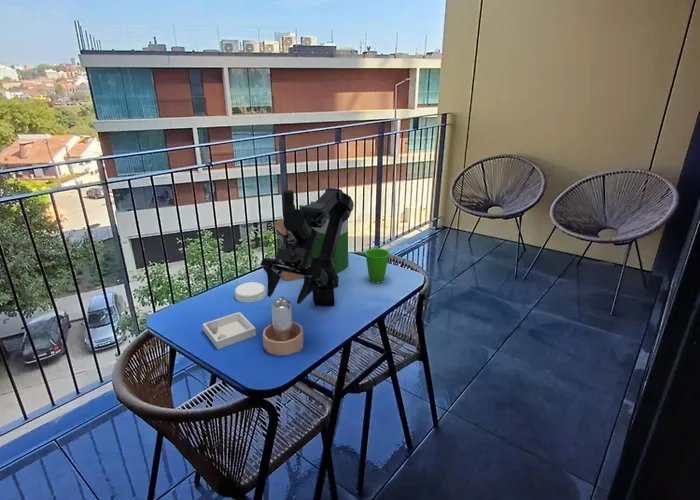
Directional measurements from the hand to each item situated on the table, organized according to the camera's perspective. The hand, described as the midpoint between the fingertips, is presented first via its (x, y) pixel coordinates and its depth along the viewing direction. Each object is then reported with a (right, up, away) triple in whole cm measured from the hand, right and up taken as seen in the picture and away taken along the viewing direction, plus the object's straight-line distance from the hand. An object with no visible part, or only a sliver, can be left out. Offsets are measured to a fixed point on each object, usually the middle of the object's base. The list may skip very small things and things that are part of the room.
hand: (283, 300), depth 109 cm
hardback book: (+8, +7, +55) cm, 56 cm away
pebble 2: (-17, -12, +4) cm, 22 cm away
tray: (-17, -11, +9) cm, 22 cm away
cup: (+27, +2, +42) cm, 50 cm away
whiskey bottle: (-4, +4, +48) cm, 48 cm away
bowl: (0, -13, +4) cm, 14 cm away
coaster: (-16, -3, +31) cm, 35 cm away
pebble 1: (-21, -10, +9) cm, 26 cm away
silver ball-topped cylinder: (0, -12, +4) cm, 13 cm away
